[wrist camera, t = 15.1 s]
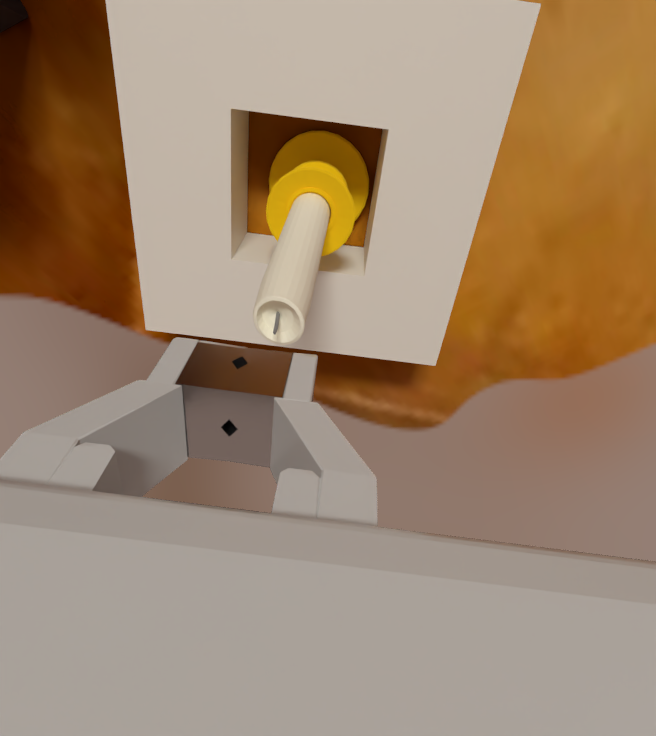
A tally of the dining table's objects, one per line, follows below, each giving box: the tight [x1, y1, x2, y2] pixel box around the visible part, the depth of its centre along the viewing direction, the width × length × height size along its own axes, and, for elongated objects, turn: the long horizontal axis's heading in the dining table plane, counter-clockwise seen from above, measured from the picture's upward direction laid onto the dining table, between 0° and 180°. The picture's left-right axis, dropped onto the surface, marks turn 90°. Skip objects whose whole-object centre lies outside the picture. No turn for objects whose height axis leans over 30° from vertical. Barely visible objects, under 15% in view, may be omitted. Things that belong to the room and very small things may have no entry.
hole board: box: [106, 0, 541, 366], centre depth 23 cm, size 16×16×4 cm
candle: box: [253, 130, 369, 345], centre depth 19 cm, size 5×5×16 cm
